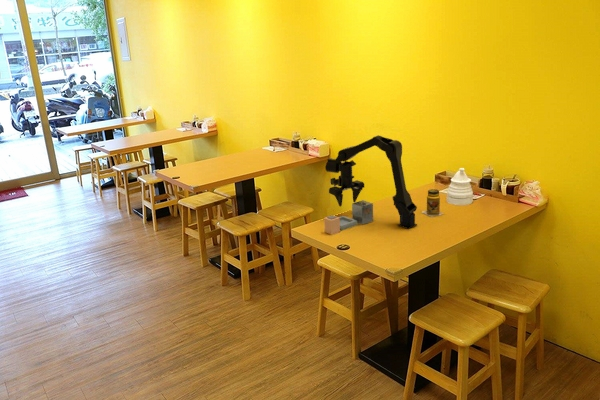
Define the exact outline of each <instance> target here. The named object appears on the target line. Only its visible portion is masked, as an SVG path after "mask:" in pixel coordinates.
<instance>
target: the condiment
mask: <svg viewBox="0 0 600 400" xmlns="http://www.w3.org/2000/svg"><path fill="white" fill-rule="evenodd" d="M440 196H441V195H440V190H439V189H436V188H435V189H433V188H431V189H429V190H427V195H426V210H424V211H421V213H422V214H425V215H427V216H429V217H437V216H438V217H439V216H441V215H444V213H442V212H441V211H440V210H441V208H440V205H441V203H440V202H441V201H440V200H441V197H440Z"/></svg>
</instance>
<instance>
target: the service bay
mask: <svg viewBox="0 0 600 400" xmlns="http://www.w3.org/2000/svg"><path fill="white" fill-rule="evenodd" d="M338 217H339V218H340V231H343V230H347V229H350V228H352V227H355V226H358V223H357V221H356V220H354V219H352V218H351V217H348V216H345V215H341V216H338Z"/></svg>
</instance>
